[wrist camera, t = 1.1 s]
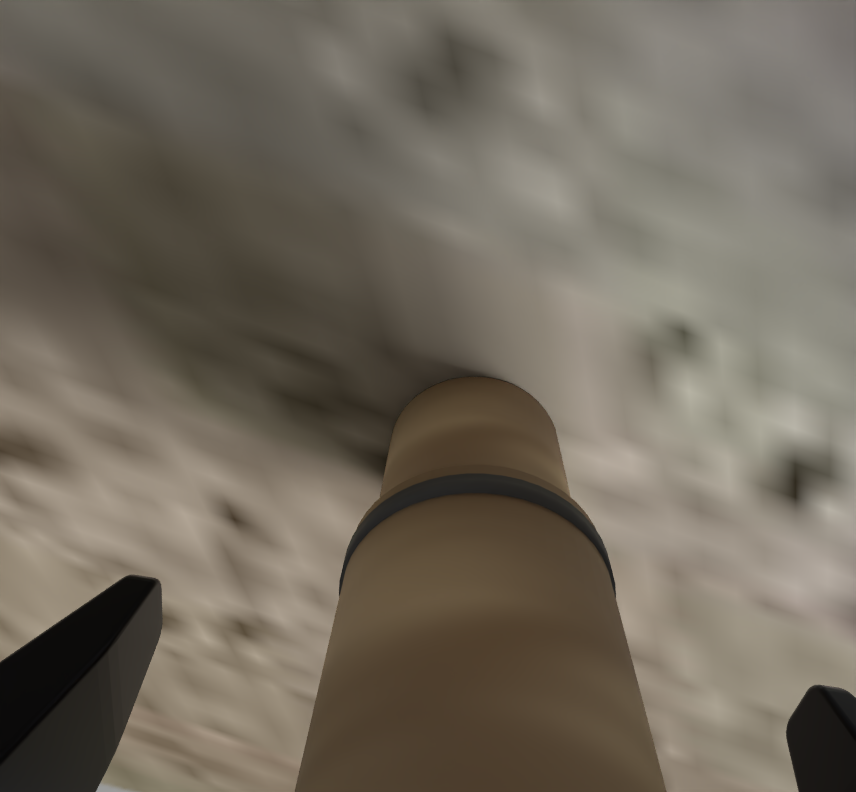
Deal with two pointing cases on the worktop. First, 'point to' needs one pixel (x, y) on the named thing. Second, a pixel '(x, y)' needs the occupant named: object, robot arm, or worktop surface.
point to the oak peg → (477, 620)
